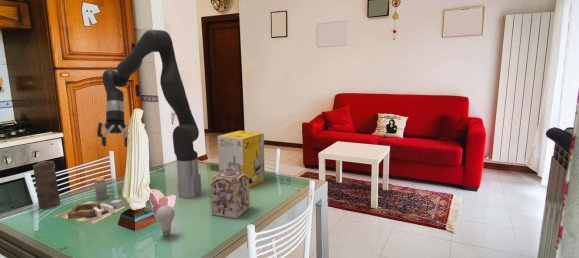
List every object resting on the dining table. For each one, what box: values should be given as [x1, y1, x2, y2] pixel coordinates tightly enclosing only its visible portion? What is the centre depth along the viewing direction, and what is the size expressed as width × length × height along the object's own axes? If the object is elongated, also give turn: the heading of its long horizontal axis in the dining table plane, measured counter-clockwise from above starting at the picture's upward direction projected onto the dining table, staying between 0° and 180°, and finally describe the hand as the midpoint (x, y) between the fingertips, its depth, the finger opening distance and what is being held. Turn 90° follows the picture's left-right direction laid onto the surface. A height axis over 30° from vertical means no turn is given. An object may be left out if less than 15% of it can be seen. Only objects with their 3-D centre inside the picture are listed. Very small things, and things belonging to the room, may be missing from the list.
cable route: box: [86, 199, 124, 218], centre depth 136 cm, size 7×14×3 cm, turn 162°
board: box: [53, 200, 126, 224], centre depth 137 cm, size 20×16×1 cm
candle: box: [32, 160, 61, 210], centre depth 142 cm, size 8×7×20 cm
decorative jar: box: [210, 168, 250, 219], centre depth 137 cm, size 12×12×18 cm
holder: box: [67, 202, 101, 220], centre depth 135 cm, size 9×9×2 cm
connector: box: [93, 176, 109, 202], centre depth 150 cm, size 4×4×10 cm
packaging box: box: [217, 130, 266, 189], centre depth 172 cm, size 16×16×25 cm
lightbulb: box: [155, 205, 176, 237], centre depth 118 cm, size 6×6×11 cm
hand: (115, 146), depth 153 cm, fingers open, 8 cm apart
